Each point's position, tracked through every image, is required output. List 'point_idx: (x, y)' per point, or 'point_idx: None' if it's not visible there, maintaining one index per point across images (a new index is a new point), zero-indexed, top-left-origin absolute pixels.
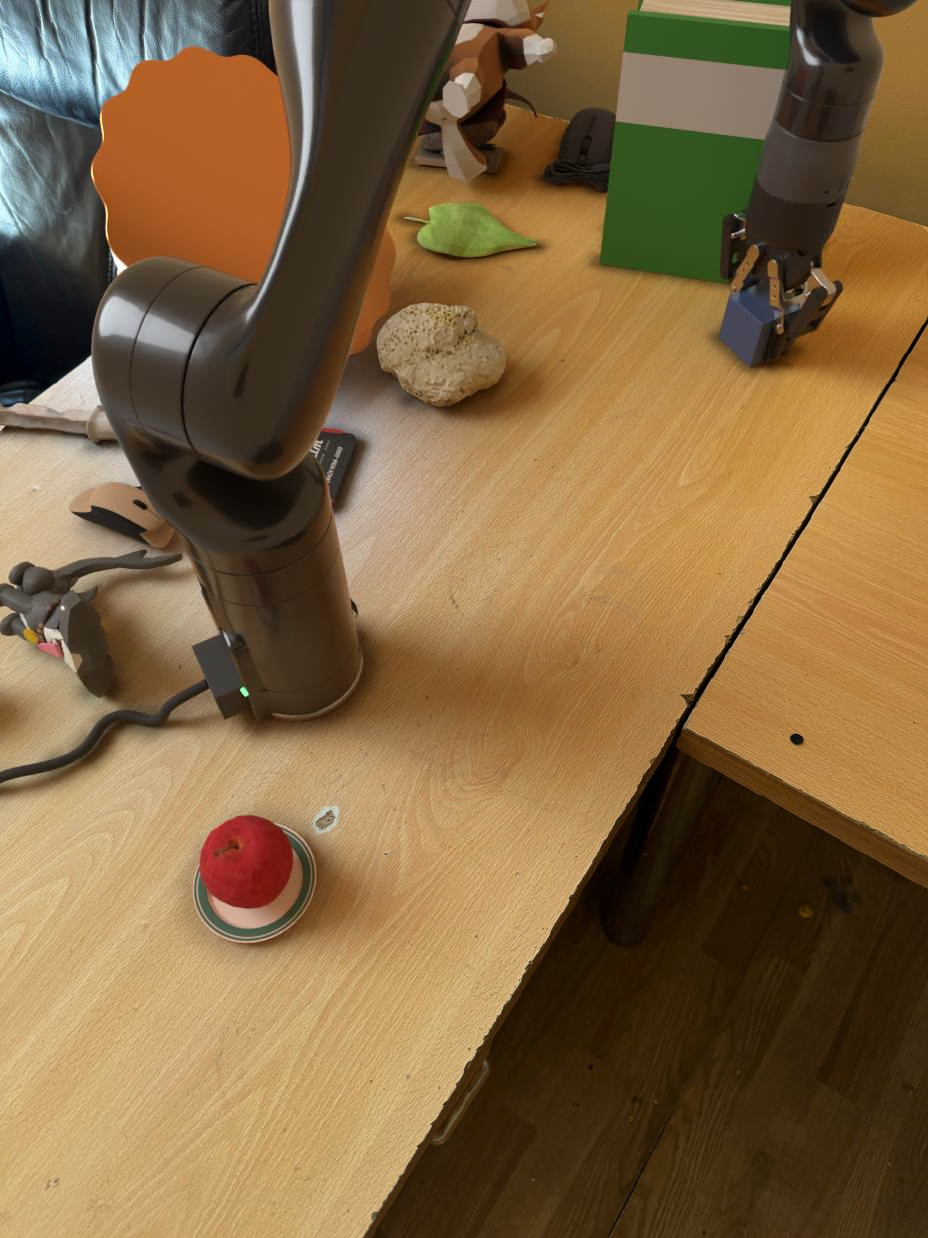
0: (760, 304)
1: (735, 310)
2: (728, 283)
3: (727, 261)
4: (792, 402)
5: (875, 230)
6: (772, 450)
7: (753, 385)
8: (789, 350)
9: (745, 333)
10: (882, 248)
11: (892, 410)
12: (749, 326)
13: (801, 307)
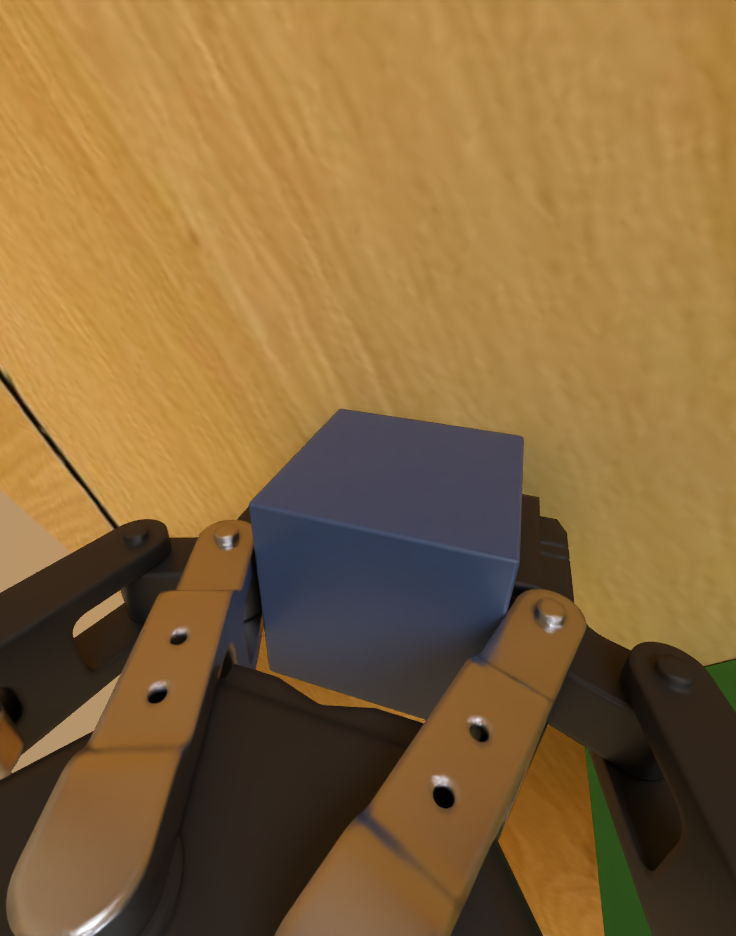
0: (364, 596)
1: (448, 515)
2: (714, 665)
3: (686, 757)
4: (169, 393)
5: (548, 911)
6: (8, 184)
7: (268, 354)
8: None
9: (366, 464)
10: None
11: (96, 537)
12: (341, 484)
13: (8, 636)
